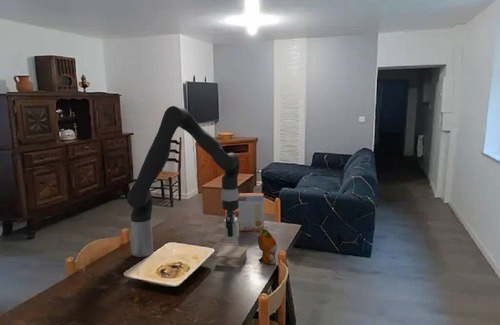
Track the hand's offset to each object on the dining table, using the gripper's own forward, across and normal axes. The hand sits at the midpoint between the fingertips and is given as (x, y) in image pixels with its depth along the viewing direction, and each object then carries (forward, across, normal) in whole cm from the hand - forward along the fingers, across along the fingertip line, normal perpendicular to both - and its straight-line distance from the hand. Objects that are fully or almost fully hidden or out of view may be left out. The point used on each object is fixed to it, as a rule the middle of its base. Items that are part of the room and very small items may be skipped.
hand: (231, 234), depth 165 cm
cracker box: (+13, -41, +6) cm, 43 cm away
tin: (+2, 0, 0) cm, 2 cm away
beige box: (+13, 0, 0) cm, 13 cm away
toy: (+13, -1, +16) cm, 21 cm away
